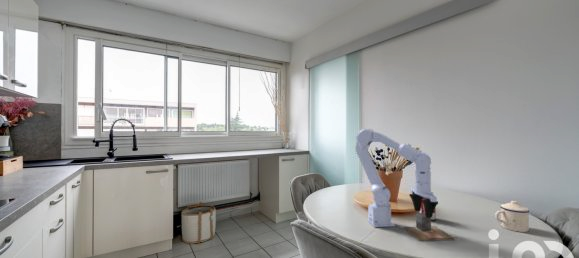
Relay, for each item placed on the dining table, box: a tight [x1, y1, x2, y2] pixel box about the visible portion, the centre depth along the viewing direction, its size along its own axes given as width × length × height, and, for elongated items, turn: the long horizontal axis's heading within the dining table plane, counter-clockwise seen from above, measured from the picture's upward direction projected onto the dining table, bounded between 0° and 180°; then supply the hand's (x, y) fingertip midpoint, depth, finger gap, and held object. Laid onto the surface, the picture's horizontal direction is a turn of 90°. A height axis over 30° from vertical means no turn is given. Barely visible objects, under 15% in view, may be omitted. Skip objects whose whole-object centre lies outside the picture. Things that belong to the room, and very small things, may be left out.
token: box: [415, 212, 432, 231], centre depth 100 cm, size 4×4×6 cm
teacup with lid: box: [494, 200, 530, 233], centre depth 103 cm, size 12×9×12 cm
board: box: [403, 225, 455, 242], centre depth 97 cm, size 14×11×1 cm
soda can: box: [418, 193, 437, 222], centre depth 114 cm, size 7×7×12 cm
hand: (422, 213), depth 100 cm, fingers open, 7 cm apart
